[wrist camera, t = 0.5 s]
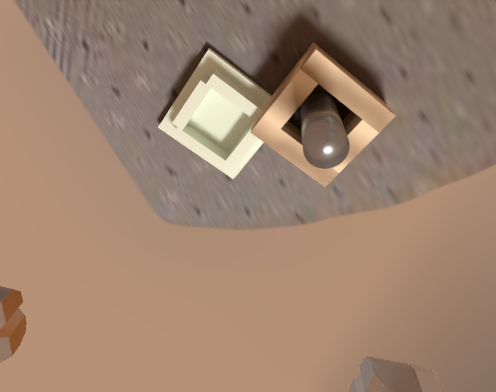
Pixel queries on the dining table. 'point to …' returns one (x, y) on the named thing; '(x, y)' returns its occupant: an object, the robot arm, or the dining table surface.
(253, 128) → the bored block
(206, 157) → the holder
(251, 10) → the dining table surface
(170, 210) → the dining table surface
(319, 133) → the axle
